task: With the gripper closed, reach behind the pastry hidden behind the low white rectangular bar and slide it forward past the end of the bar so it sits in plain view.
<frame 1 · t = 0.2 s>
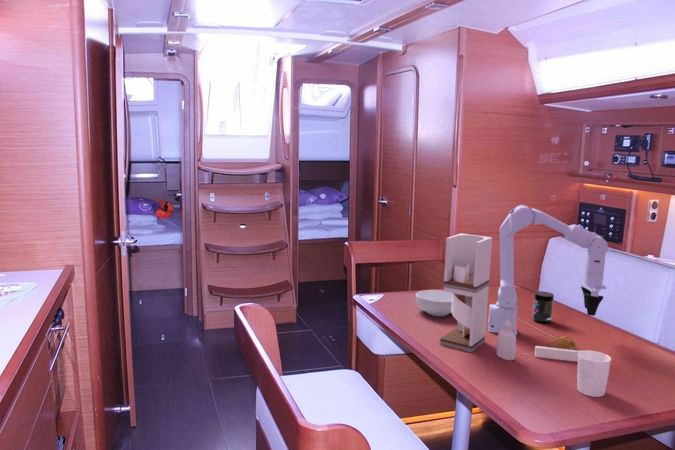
hand: (589, 311, 181), 10 cm above the table, tool pointing down, fingers open, 7 cm apart
eye dropper bottle: (505, 358, 166), on the table
pastry: (561, 350, 175), on the table
supplement container: (541, 321, 201), on the table
cereal bowl: (437, 313, 207), on the table
white rectangular bar: (559, 358, 166), on the table
white cup: (590, 392, 145), on the table
display case: (462, 343, 177), on the table
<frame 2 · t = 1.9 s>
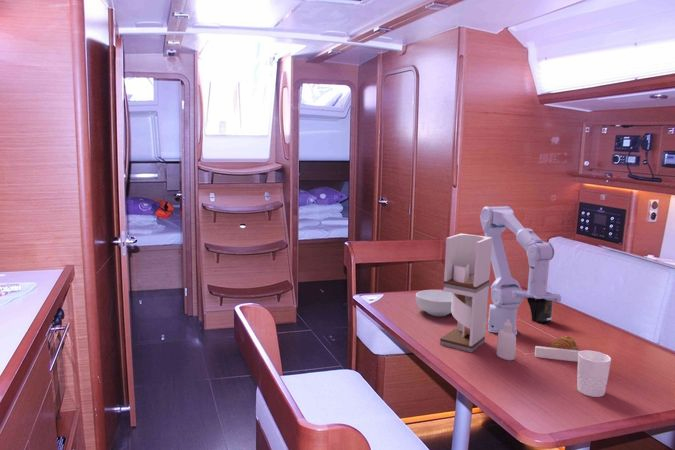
hand: (534, 320, 175), 8 cm above the table, tool pointing down, fingers closed
nothing on the table moved.
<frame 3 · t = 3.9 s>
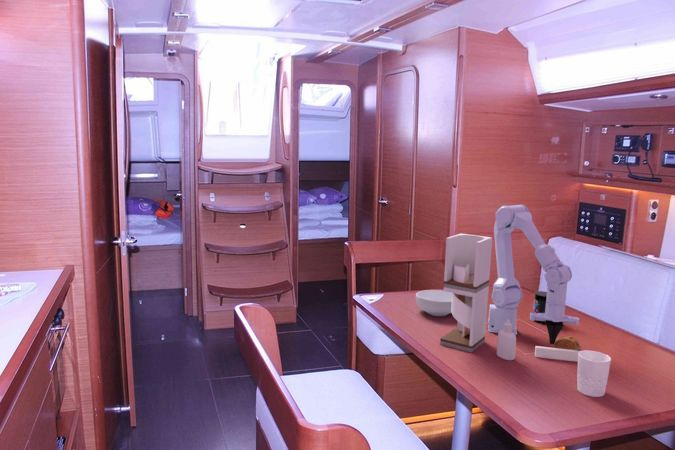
hand: (551, 343, 175), 1 cm above the table, tool pointing down, fingers closed
pastry: (566, 350, 174), on the table, touching gripper
everything else where it was.
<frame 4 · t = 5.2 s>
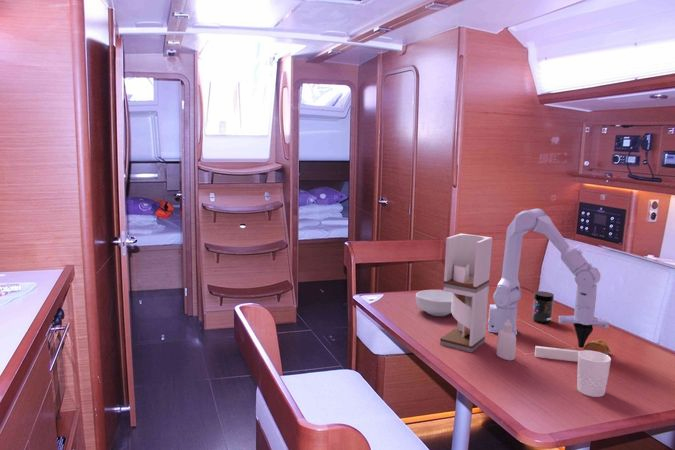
hand: (580, 346, 173), 1 cm above the table, tool pointing down, fingers closed
pastry: (595, 354, 171), on the table, touching gripper
everything else where it was.
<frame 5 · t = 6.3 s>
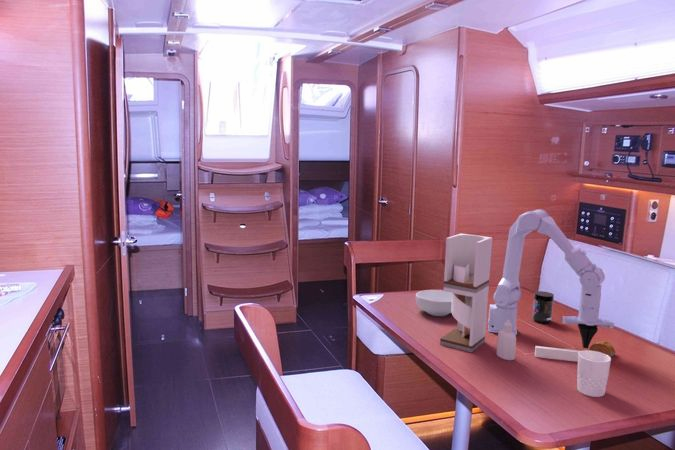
hand: (585, 347, 173), 1 cm above the table, tool pointing down, fingers closed
pastry: (601, 356, 171), on the table
everything else where it was.
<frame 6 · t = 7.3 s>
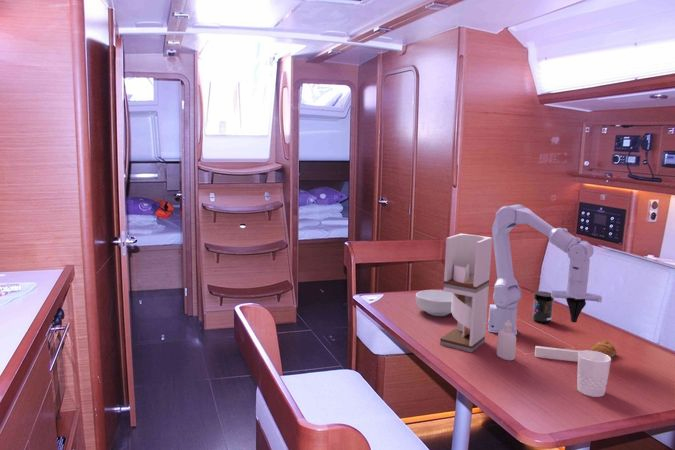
hand: (573, 321, 173), 9 cm above the table, tool pointing down, fingers closed
nothing on the table moved.
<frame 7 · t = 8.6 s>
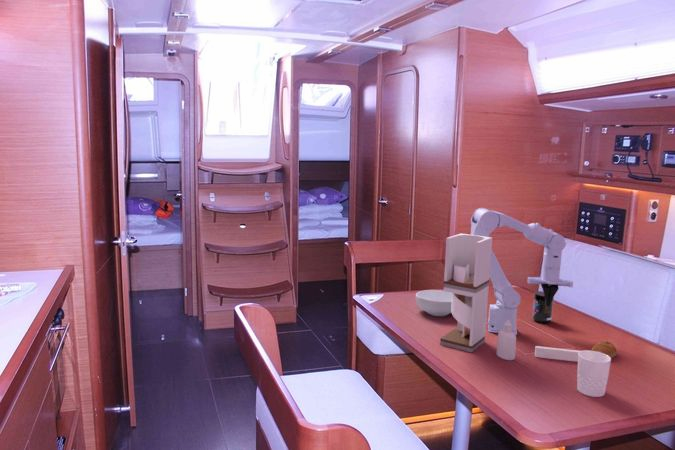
hand: (547, 305, 189), 9 cm above the table, tool pointing down, fingers closed
nothing on the table moved.
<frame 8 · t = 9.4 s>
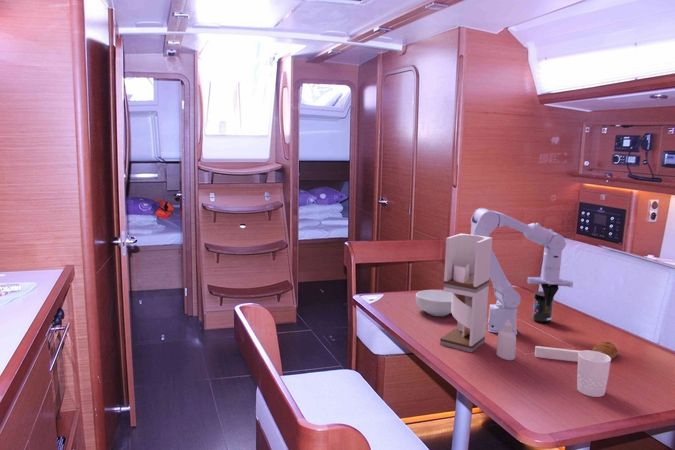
hand: (547, 305, 189), 9 cm above the table, tool pointing down, fingers closed
nothing on the table moved.
at the end: pastry inside the target area (3.0 cm from its centre), on the table; pastry moved 12.5 cm from its start; pastry tilted 0° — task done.
